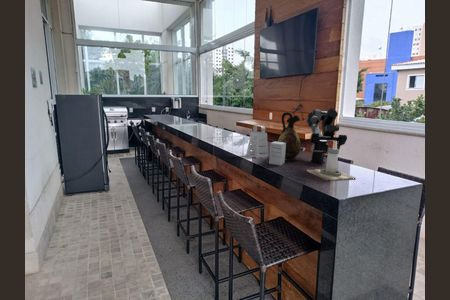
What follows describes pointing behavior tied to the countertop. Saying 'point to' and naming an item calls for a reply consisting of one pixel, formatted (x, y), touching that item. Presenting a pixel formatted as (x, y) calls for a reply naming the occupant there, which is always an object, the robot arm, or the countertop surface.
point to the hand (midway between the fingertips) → (329, 151)
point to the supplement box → (277, 153)
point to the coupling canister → (332, 160)
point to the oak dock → (330, 175)
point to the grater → (258, 143)
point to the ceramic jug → (290, 137)
